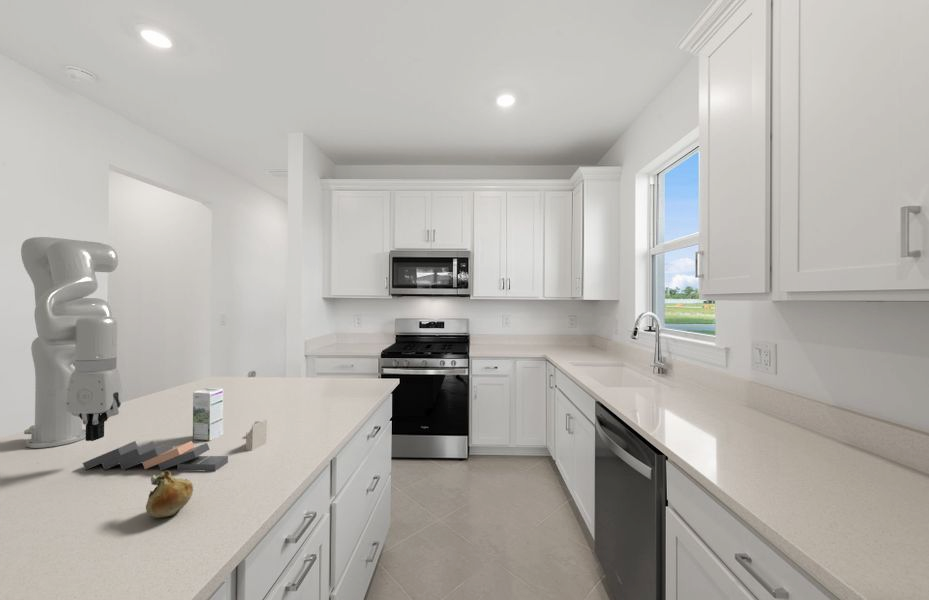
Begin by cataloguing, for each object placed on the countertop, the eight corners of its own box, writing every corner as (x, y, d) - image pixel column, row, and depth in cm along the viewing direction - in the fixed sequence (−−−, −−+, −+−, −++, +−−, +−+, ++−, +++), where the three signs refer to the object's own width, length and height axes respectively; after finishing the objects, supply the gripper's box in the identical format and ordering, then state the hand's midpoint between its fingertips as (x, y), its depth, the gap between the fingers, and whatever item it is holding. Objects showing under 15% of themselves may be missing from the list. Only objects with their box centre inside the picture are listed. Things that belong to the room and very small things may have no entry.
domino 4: (142, 462, 93) (177, 448, 93) (158, 454, 98) (191, 440, 98) (144, 469, 93) (179, 455, 93) (161, 460, 98) (194, 447, 98)
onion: (136, 529, 69) (137, 485, 69) (152, 507, 76) (152, 467, 76) (186, 520, 72) (187, 478, 72) (197, 500, 79) (197, 462, 79)
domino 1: (82, 463, 93) (117, 448, 93) (101, 454, 98) (135, 440, 98) (85, 469, 93) (120, 455, 93) (104, 461, 98) (138, 447, 98)
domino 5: (158, 463, 93) (193, 450, 93) (173, 455, 98) (207, 442, 98) (160, 470, 93) (195, 457, 93) (176, 462, 98) (209, 449, 98)
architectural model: (241, 451, 106) (241, 424, 106) (259, 442, 113) (259, 417, 113) (251, 452, 106) (252, 425, 106) (269, 443, 112) (269, 418, 113)
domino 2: (101, 463, 93) (136, 448, 93) (120, 454, 98) (153, 440, 98) (104, 469, 93) (139, 455, 93) (122, 461, 98) (156, 447, 98)
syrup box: (223, 434, 118) (224, 387, 118) (209, 441, 112) (210, 392, 112) (206, 433, 118) (207, 387, 119) (191, 440, 113) (192, 391, 113)
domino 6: (177, 464, 93) (215, 464, 93) (192, 456, 98) (227, 456, 98) (177, 471, 93) (215, 471, 93) (192, 463, 98) (227, 463, 98)
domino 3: (119, 463, 93) (155, 449, 93) (137, 455, 98) (170, 441, 98) (122, 470, 93) (157, 456, 93) (139, 461, 98) (173, 448, 98)
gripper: (50, 368, 92) (48, 444, 91) (112, 369, 92) (110, 445, 92) (81, 363, 99) (80, 433, 99) (138, 363, 99) (137, 434, 99)
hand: (94, 438), depth 95 cm, fingers closed
